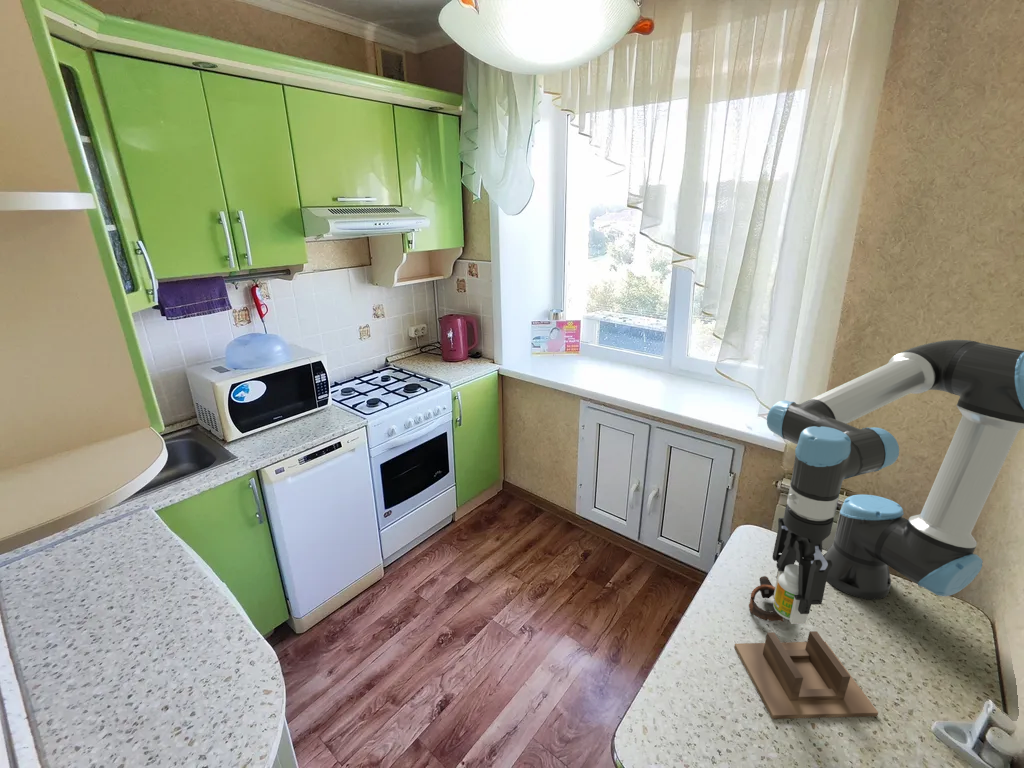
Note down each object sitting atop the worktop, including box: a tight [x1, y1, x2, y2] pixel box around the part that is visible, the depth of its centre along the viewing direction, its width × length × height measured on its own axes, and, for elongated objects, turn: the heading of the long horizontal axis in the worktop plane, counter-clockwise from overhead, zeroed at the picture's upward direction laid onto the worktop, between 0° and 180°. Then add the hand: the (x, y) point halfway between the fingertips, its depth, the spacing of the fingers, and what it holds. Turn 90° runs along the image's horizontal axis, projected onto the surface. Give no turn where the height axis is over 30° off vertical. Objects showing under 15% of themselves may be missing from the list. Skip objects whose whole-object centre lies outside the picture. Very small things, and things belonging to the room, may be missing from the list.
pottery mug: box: [748, 575, 784, 623], centre depth 115 cm, size 12×10×8 cm
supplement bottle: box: [772, 563, 799, 620], centre depth 93 cm, size 5×5×10 cm
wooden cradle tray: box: [733, 630, 879, 720], centre depth 97 cm, size 20×16×7 cm
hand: (788, 609), depth 95 cm, fingers closed on supplement bottle, 5 cm apart
